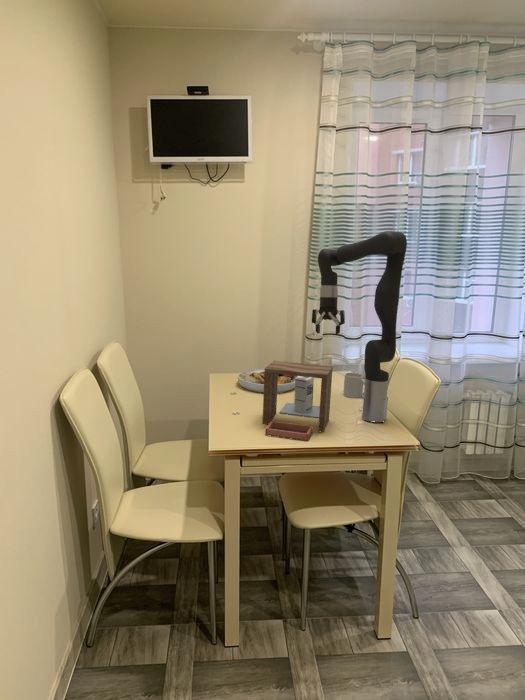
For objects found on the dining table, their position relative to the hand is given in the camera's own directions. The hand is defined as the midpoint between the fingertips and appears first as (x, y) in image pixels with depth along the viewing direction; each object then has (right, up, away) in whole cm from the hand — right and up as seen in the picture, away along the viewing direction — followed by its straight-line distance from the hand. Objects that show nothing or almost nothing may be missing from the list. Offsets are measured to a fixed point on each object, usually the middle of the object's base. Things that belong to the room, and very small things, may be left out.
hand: (327, 333), depth 225 cm
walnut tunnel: (-15, -36, -19) cm, 43 cm away
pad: (-11, -33, -5) cm, 35 cm away
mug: (+15, -29, +19) cm, 38 cm away
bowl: (-26, -25, +31) cm, 48 cm away
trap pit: (-18, -38, -32) cm, 53 cm away
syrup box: (-11, -33, -6) cm, 35 cm away
